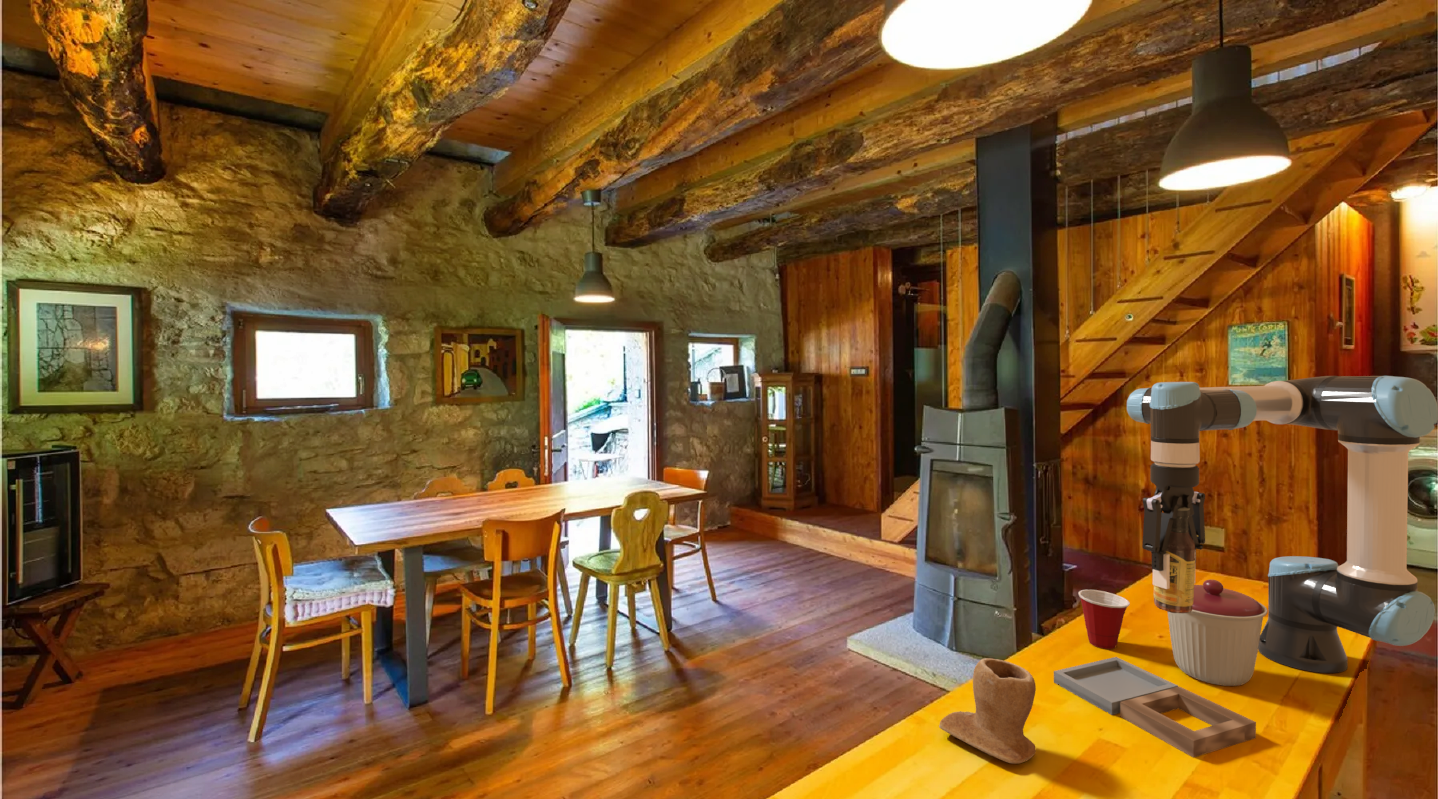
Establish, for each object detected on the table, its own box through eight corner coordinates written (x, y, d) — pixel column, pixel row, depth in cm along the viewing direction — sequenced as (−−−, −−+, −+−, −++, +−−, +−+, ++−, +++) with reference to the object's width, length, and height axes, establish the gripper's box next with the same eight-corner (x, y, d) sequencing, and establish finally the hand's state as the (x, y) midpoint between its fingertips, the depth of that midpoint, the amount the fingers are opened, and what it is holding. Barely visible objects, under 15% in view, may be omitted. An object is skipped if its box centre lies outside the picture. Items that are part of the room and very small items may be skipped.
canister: (1243, 661, 146) (1244, 570, 145) (1283, 701, 129) (1285, 598, 128) (1151, 652, 152) (1151, 564, 151) (1178, 689, 135) (1178, 590, 134)
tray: (1116, 667, 145) (1116, 656, 145) (1177, 697, 131) (1177, 685, 131) (1053, 682, 139) (1053, 671, 139) (1111, 715, 126) (1111, 702, 126)
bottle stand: (1179, 700, 130) (1179, 686, 130) (1255, 738, 117) (1255, 722, 117) (1120, 716, 125) (1120, 701, 125) (1193, 757, 112) (1193, 740, 112)
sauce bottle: (1145, 604, 125) (1145, 503, 124) (1175, 601, 126) (1175, 501, 125) (1172, 617, 119) (1173, 511, 118) (1203, 614, 119) (1204, 509, 118)
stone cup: (1050, 750, 115) (1050, 669, 114) (1014, 776, 108) (1013, 690, 107) (974, 714, 127) (973, 641, 127) (937, 736, 121) (936, 658, 120)
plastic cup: (1137, 655, 150) (1138, 605, 150) (1087, 652, 152) (1087, 603, 152) (1118, 636, 161) (1119, 589, 160) (1071, 633, 163) (1071, 587, 162)
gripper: (1189, 457, 128) (1188, 571, 129) (1118, 465, 121) (1118, 585, 122) (1230, 462, 120) (1229, 582, 122) (1157, 471, 114) (1157, 598, 115)
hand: (1173, 583), depth 122 cm, fingers closed on sauce bottle, 6 cm apart
